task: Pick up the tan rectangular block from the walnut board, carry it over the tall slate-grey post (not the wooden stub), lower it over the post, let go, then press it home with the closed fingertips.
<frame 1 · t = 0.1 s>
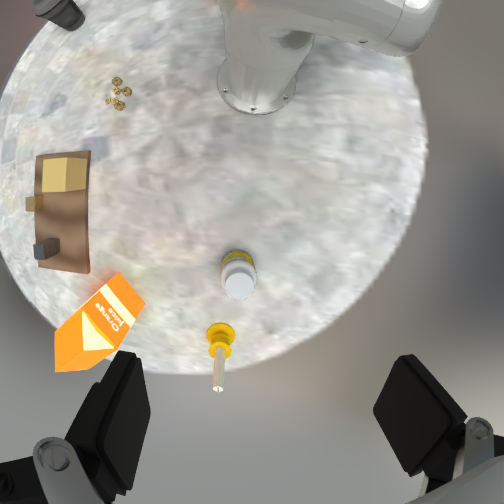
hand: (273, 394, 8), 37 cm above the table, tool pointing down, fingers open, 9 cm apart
board: (60, 212, 41), on the table
supplement bottle: (237, 264, 46), on the table
orange juice: (117, 299, 46), on the table
post: (55, 244, 41), resting on board
wooden stub: (39, 202, 39), resting on board
tan rectangular block: (74, 174, 38), point 1 cm above the table, touching board
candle: (220, 334, 49), on the table
beverage cup: (76, 23, 30), on the table
set of tan pieces: (121, 96, 37), on the table
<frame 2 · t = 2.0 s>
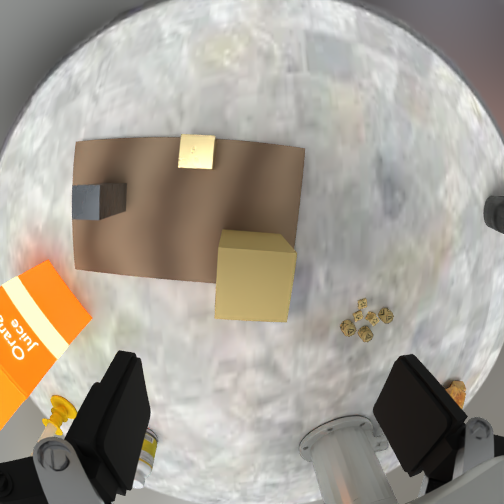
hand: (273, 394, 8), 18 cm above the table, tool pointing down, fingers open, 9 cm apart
board: (176, 208, 24), on the table
pyrite: (444, 388, 35), on the table
supplement bottle: (142, 433, 32), on the table
orange juice: (55, 304, 26), on the table
post: (114, 196, 22), resting on board
wooden stub: (200, 154, 22), resting on board
tan rectangular block: (249, 259, 25), point 1 cm above the table, touching board
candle: (64, 405, 31), on the table
beverage cup: (490, 211, 27), on the table
set of tan pieces: (360, 317, 30), on the table
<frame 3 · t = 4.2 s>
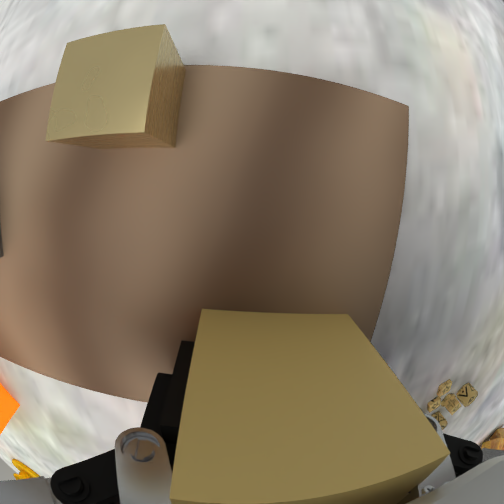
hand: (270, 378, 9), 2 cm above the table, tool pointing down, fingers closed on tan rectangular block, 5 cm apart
board: (96, 249, 9), on the table
pyrite: (487, 437, 20), on the table
wooden stub: (140, 108, 7), resting on board
tan rectangular block: (269, 371, 10), point 1 cm above the table, touching board, gripper
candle: (28, 469, 16), on the table
set of tan pieces: (433, 400, 15), on the table
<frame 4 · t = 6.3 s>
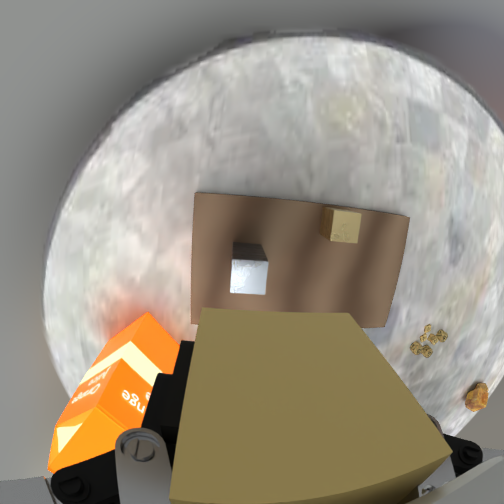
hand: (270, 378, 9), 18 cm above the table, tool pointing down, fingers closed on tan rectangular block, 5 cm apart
board: (304, 267, 27), on the table
pyrite: (470, 390, 38), on the table
orange juice: (152, 353, 29), on the table
post: (245, 256, 25), resting on board
wooden stub: (334, 221, 25), resting on board
tan rectangular block: (270, 370, 10), point 17 cm above the table, touching gripper
set of tan pieces: (423, 338, 32), on the table
when the fingers open (4 cm above the table, at t = 8.8 s): tan rectangular block drops 2 cm, resting on board.
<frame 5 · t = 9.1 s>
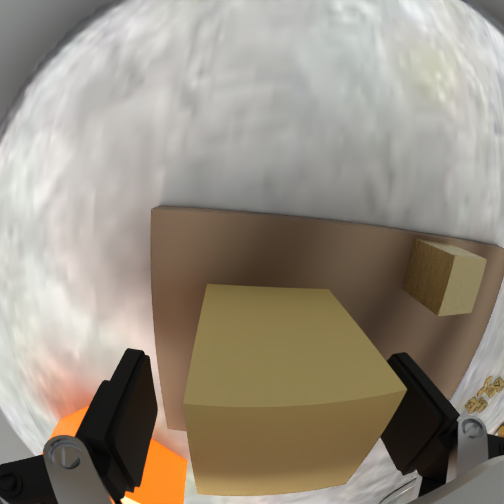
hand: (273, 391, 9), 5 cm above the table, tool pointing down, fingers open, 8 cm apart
board: (363, 341, 14), on the table
pyrite: (502, 423, 25), on the table
orange juice: (119, 442, 16), on the table
wooden stub: (426, 265, 12), resting on board
tan rectangular block: (263, 339, 12), point 1 cm above the table, touching board
set of tan pieces: (478, 389, 19), on the table
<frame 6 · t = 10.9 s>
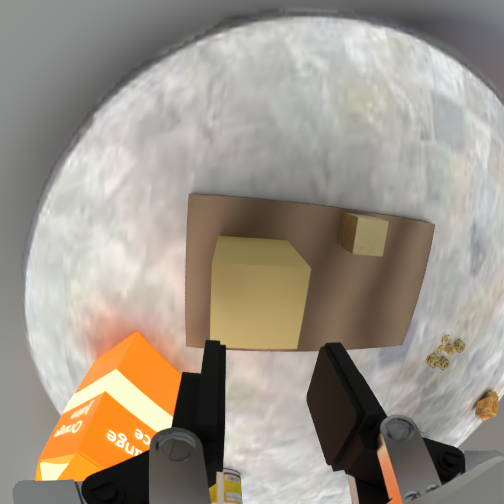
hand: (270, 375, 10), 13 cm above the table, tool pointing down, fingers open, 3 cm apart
board: (317, 281, 23), on the table
pyrite: (481, 398, 34), on the table
supplement bottle: (223, 474, 31), on the table
orange juice: (143, 374, 25), on the table
wooden stub: (353, 229, 21), resting on board
tan rectangular block: (250, 270, 21), point 1 cm above the table, touching board
set of tan pieces: (439, 348, 28), on the table
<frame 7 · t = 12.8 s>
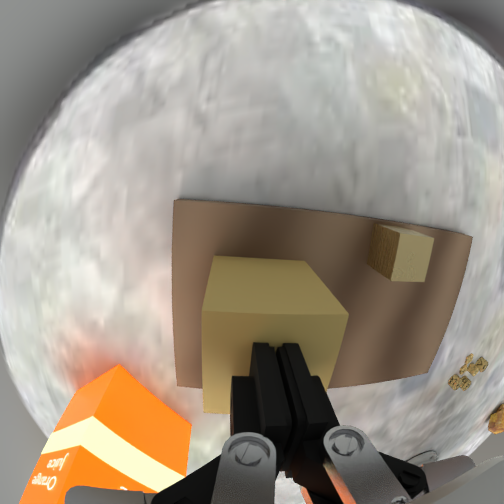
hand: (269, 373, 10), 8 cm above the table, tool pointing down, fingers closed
board: (338, 308, 18), on the table
pyrite: (493, 411, 29), on the table
orange juice: (131, 408, 20), on the table
wooden stub: (387, 245, 16), resting on board
tan rectangular block: (256, 300, 16), point 1 cm above the table, touching board, gripper
set of tan pieces: (461, 368, 23), on the table
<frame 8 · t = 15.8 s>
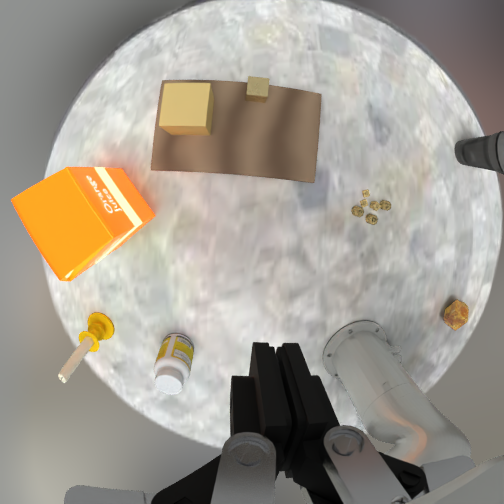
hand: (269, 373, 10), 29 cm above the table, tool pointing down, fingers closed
board: (237, 127, 34), on the table
pyrite: (448, 307, 45), on the table
supplement bottle: (178, 345, 42), on the table
orange juice: (120, 208, 36), on the table
wooden stub: (255, 93, 32), resting on board
tan rectangular block: (192, 116, 32), point 1 cm above the table, touching board
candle: (101, 325, 40), on the table
beverage cup: (461, 152, 37), on the table
set of tan pieces: (366, 207, 39), on the table
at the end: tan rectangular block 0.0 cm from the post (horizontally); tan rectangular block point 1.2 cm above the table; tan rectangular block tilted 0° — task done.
